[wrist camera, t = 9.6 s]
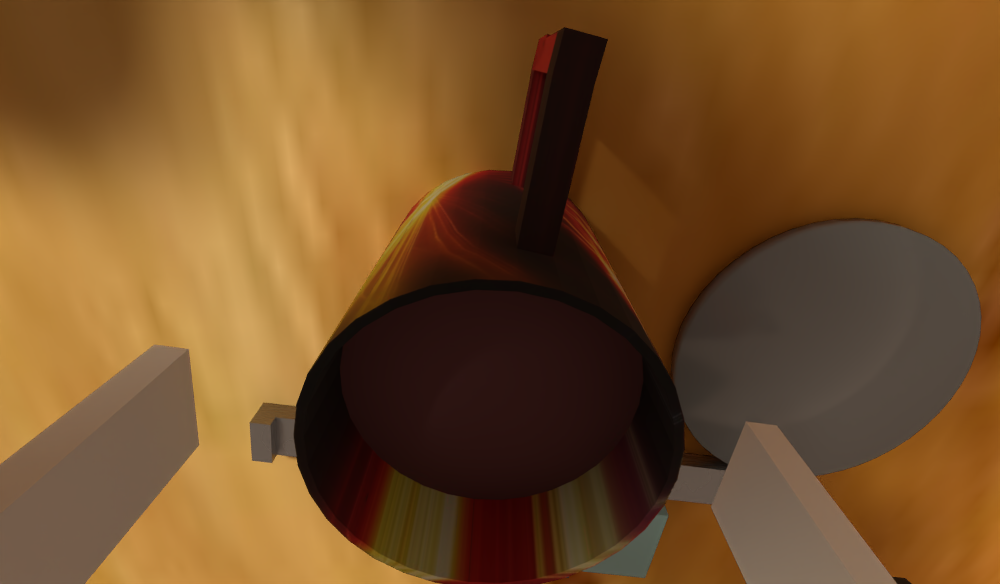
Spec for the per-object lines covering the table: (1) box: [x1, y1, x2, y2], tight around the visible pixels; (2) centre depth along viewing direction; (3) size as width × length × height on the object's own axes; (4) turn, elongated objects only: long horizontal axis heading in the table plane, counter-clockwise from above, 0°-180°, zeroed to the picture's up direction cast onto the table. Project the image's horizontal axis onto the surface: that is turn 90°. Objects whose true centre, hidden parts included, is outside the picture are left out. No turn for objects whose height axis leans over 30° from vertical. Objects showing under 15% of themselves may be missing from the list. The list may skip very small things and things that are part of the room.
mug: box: [293, 28, 685, 584], centre depth 17 cm, size 10×14×12 cm
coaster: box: [671, 218, 981, 476], centre depth 25 cm, size 14×14×1 cm
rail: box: [250, 403, 728, 504], centre depth 27 cm, size 2×26×2 cm, turn 82°
